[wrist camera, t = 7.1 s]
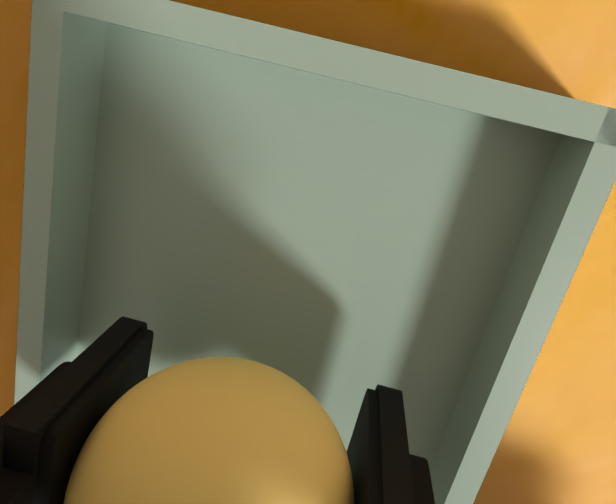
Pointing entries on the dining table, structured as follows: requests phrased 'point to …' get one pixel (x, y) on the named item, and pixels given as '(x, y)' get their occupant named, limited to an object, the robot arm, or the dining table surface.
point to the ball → (213, 441)
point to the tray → (302, 214)
